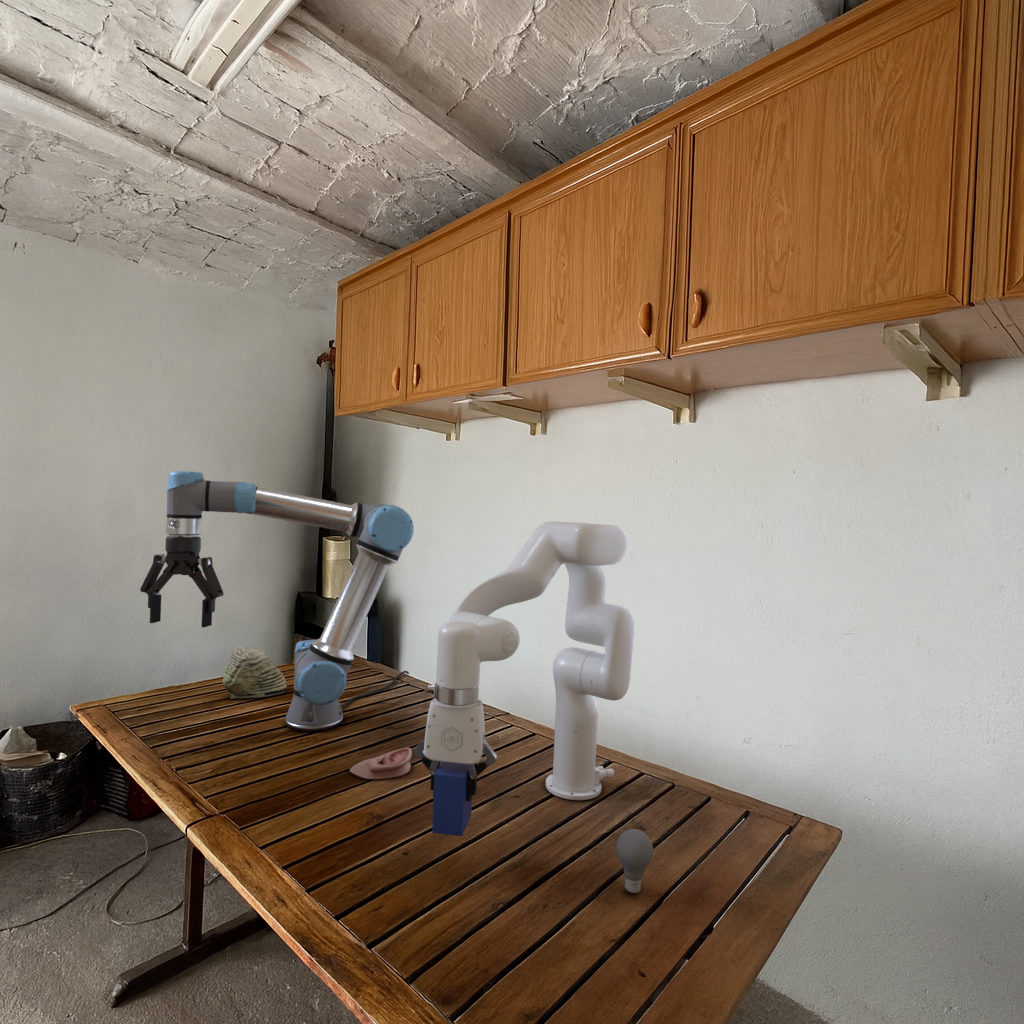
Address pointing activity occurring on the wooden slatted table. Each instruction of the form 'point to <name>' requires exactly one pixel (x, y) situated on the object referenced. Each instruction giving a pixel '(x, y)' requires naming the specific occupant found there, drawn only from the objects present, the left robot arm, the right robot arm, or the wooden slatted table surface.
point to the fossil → (252, 674)
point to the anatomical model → (384, 765)
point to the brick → (451, 799)
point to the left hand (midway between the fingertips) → (180, 624)
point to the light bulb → (634, 857)
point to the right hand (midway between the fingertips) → (453, 795)
